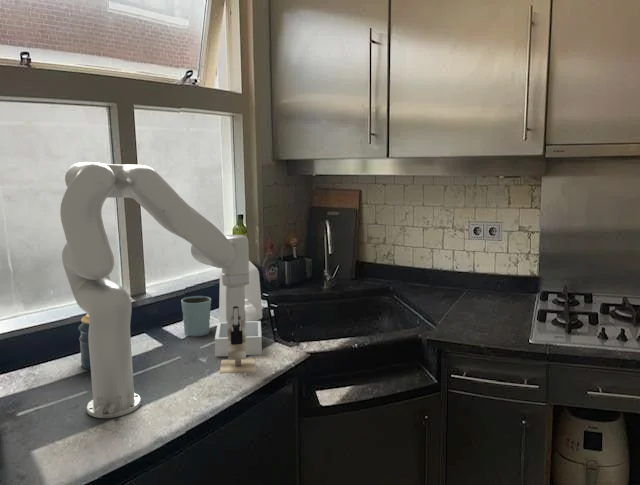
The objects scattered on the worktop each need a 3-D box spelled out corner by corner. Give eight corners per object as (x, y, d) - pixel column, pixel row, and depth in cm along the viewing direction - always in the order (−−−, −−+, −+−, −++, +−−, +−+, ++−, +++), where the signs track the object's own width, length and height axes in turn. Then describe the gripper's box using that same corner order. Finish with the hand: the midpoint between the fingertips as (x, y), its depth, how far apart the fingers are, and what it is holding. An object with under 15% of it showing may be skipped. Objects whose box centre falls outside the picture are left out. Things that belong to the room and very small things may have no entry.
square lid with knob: (255, 376, 151) (255, 356, 150) (219, 378, 150) (219, 358, 149) (255, 362, 161) (255, 344, 160) (221, 364, 160) (221, 345, 159)
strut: (228, 360, 152) (227, 315, 150) (228, 353, 157) (227, 310, 155) (246, 359, 152) (245, 315, 150) (246, 352, 157) (245, 310, 155)
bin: (261, 358, 164) (261, 336, 163) (215, 361, 162) (214, 339, 161) (260, 340, 180) (260, 320, 179) (218, 342, 178) (217, 322, 177)
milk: (245, 326, 195) (243, 256, 190) (219, 322, 199) (216, 254, 195) (262, 317, 205) (261, 251, 201) (237, 314, 210) (235, 248, 206)
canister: (82, 358, 165) (78, 302, 162) (127, 352, 169) (123, 298, 167) (79, 374, 153) (75, 314, 150) (128, 367, 157) (124, 309, 155)
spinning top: (254, 328, 193) (253, 296, 191) (259, 335, 186) (258, 301, 184) (233, 330, 190) (232, 297, 188) (237, 337, 183) (236, 303, 181)
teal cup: (177, 335, 185) (175, 302, 183) (191, 326, 195) (189, 294, 193) (204, 338, 183) (203, 304, 181) (216, 328, 192) (215, 296, 190)
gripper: (223, 272, 159) (225, 331, 162) (220, 286, 142) (222, 351, 145) (249, 272, 160) (250, 330, 163) (249, 285, 143) (250, 350, 146)
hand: (237, 340), depth 154 cm, fingers closed on strut, 5 cm apart
